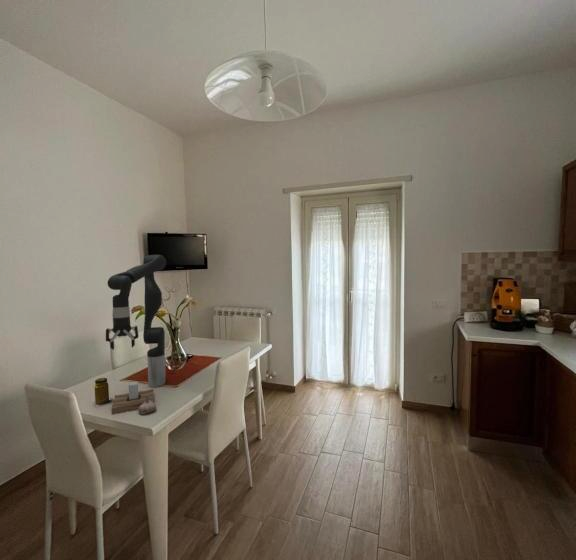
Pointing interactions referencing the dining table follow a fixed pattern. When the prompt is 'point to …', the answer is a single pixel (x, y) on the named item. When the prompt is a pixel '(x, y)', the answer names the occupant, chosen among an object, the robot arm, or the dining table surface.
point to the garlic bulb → (147, 406)
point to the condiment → (102, 392)
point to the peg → (133, 391)
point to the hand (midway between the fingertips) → (122, 348)
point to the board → (124, 405)
